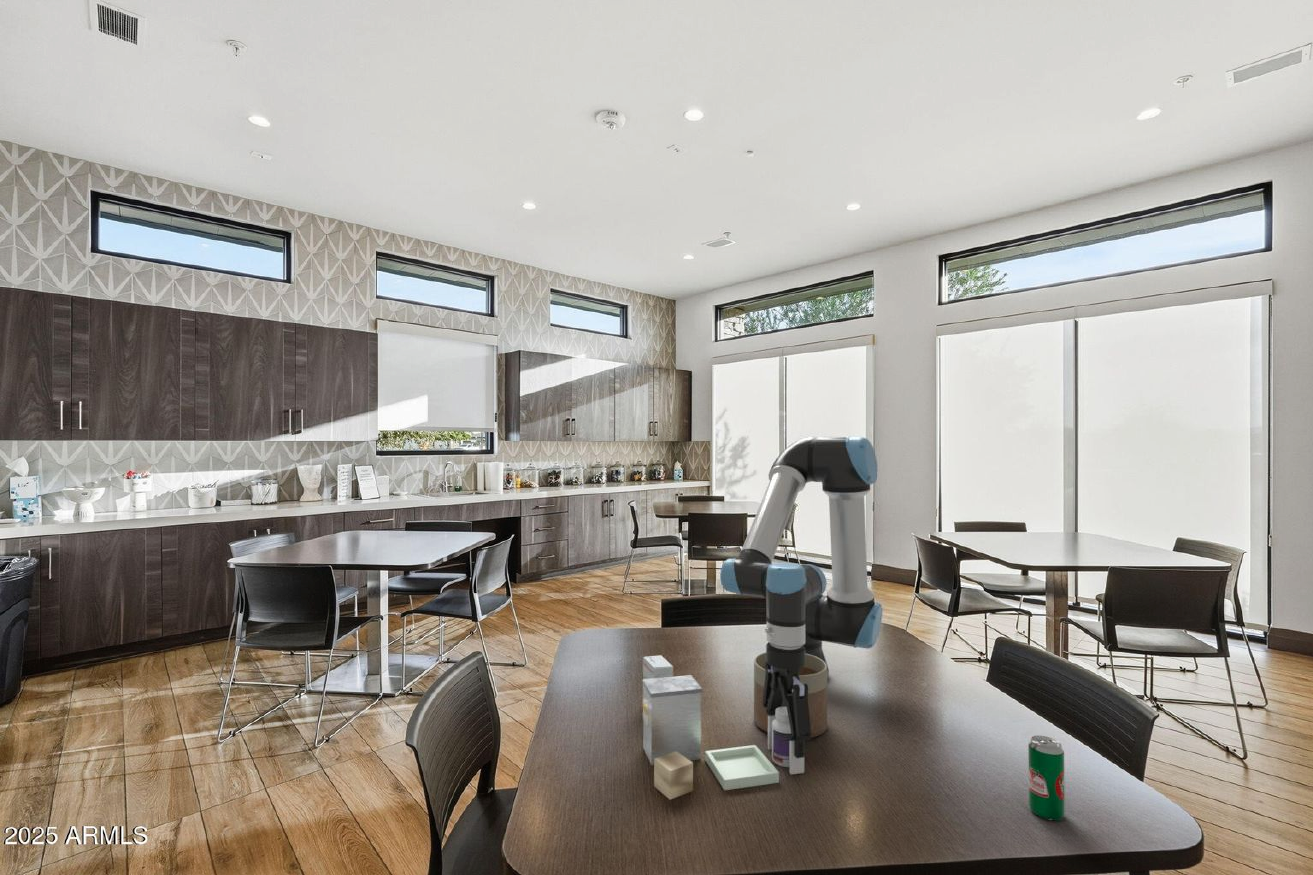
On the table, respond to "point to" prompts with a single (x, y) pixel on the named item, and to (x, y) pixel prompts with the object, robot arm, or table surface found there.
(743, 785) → the tray
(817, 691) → the planter
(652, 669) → the ink box
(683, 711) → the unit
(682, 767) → the maple block
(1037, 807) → the soda can
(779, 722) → the pill bottle
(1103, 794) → the table surface
